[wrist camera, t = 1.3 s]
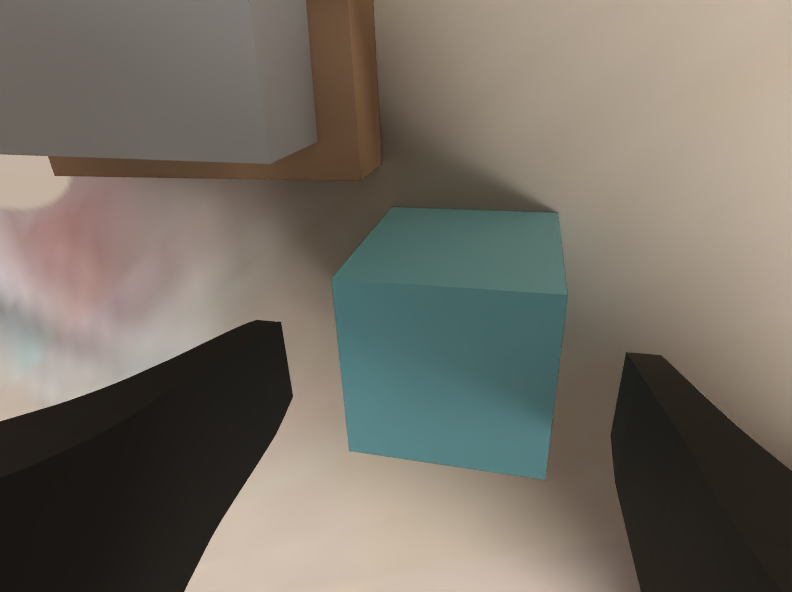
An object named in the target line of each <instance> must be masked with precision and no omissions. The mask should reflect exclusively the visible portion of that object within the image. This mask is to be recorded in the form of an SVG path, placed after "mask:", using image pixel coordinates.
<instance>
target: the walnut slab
mask: <svg viewBox="0 0 792 592" xmlns="http://www.w3.org/2000/svg"><path fill="white" fill-rule="evenodd" d="M306 7H307V19H308V31H309V43H310V55H311V67H312V79H313V91H314V103H315V115H316V127H317V140H318V142H316V143H314V144H312V145H310V146H307V147H305V148H303V149H301V150H299V151H297V152H294V153H292V154H290V155H288V156H286V157H284V158H281V159H279V160H277V161H275V162H273V163H271V164H257V163H229V162H202V161H174V160H146V159H119V158H91V157H63V156H48V157H49V160H50V163H51V166H52V169H53V172H54V175H55V176H96V177H158V178H220V179H282V180H345V181H361V180H362V179H364V178H365V177H366V176H367V175H369V174H370V173H371V172H372V171H373V170H375V169H376V168H377V167H378V166H380V165H381V164H382V154H381V136H380V117H379V99H378V80H377V62H376V43H375V25H374V6H373V0H306Z"/></svg>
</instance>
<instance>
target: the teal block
mask: <svg viewBox="0 0 792 592" xmlns="http://www.w3.org/2000/svg"><path fill="white" fill-rule="evenodd" d="M331 281H332V291H333V300H334V310H335V320H336V329H337V339H338V348H339V358H340V367H341V377H342V386H343V396H344V406H345V415H346V425H347V434H348V444H349V451H353V452H360V453H367V454H374V455H380V456H387V457H394V458H401V459H407V460H414V461H421V462H428V463H434V464H441V465H448V466H455V467H461V468H468V469H475V470H481V471H488V472H495V473H502V474H508V475H515V476H522V477H529V478H535V479H542V480H545V478H546V470H547V461H548V453H549V445H550V437H551V428H552V420H553V412H554V404H555V395H556V387H557V379H558V371H559V362H560V354H561V346H562V338H563V329H564V321H565V313H566V304H567V296H568V293H567V285H566V276H565V268H564V259H563V251H562V242H561V234H560V225H559V216H558V213H557V212H526V211H496V210H465V209H435V208H404V207H392V208H391V209H390V210H389V211H388V212H387V214H386V215H385V216H384V217H383V218H382V220H381V221H380V222H379V223H378V224H377V225H376V227H375V228H374V229H373V230H372V231H371V233H370V234H369V235H368V236H367V237H366V238H365V240H364V241H363V242H362V243H361V244H360V245H359V247H358V248H357V249H356V250H355V251H354V253H353V254H352V255H351V256H350V257H349V258H348V260H347V261H346V262H345V263H344V264H343V266H342V267H341V268H340V269H339V270H338V271H337V273H336V274H335V275H334V276H333V277H332V279H331Z"/></svg>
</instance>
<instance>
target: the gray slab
mask: <svg viewBox="0 0 792 592" xmlns="http://www.w3.org/2000/svg"><path fill="white" fill-rule="evenodd" d="M316 142H318V140H317V127H316V115H315V103H314V91H313V79H312V67H311V55H310V43H309V31H308V19H307V7H306V0H0V154H8V155H10V154H11V155H36V156H37V155H38V156H39V155H40V156H63V157H91V158H119V159H146V160H174V161H202V162H229V163H257V164H271V163H273V162H275V161H277V160H279V159H281V158H284V157H286V156H288V155H290V154H292V153H294V152H297V151H299V150H301V149H303V148H305V147H307V146H310V145H312V144H314V143H316Z"/></svg>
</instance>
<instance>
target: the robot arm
mask: <svg viewBox="0 0 792 592" xmlns="http://www.w3.org/2000/svg"><path fill="white" fill-rule="evenodd" d="M292 397H293V394H292V387H291V381H290V375H289V369H288V362H287V356H286V350H285V344H284V338H283V331H282V325H281V322H274V321H262V320H255V321H252V322H249V323H247V324H244V325H242V326H239V327H237V328H235V329H233V330H230V331H228V332H226V333H224V334H222V335H220V336H218V337H216V338H214V339H212V340H209V341H207V342H205V343H203V344H201V345H199V346H197V347H195V348H193V349H191V350H189V351H187V352H185V353H183V354H181V355H178V356H176V357H174V358H172V359H170V360H168V361H165V362H163V363H161V364H159V365H157V366H154V367H152V368H150V369H148V370H145V371H143V372H141V373H139V374H136V375H134V376H132V377H130V378H127V379H125V380H123V381H120V382H118V383H115V384H113V385H110V386H108V387H105V388H102V389H100V390H97V391H94V392H92V393H89V394H86V395H83V396H81V397H78V398H75V399H72V400H69V401H66V402H63V403H60V404H57V405H54V406H51V407H47V408H44V409H41V410H37V411H34V412H31V413H27V414H24V415H21V416H17V417H14V418H11V419H7V420H4V421H0V592H184V591H185V589H186V587H187V585H188V582H189V580H190V578H191V576H192V574H193V573H194V571H195V569H196V567H197V565H198V563H199V561H200V559H201V557H202V555H203V553H204V551H205V549H206V547H207V545H208V543H209V541H210V539H211V537H212V535H213V534H214V532H215V530H216V529H217V527H218V525H219V523H220V522H221V520H222V518H223V517H224V515H225V514H226V512H227V511H228V509H229V507H230V506H231V504H232V503H233V501H234V500H235V498H236V496H237V495H238V493H239V492H240V490H241V489H242V487H243V486H244V484H245V482H246V481H247V479H248V478H249V476H250V475H251V473H252V472H253V470H254V469H255V467H256V465H257V464H258V462H259V461H260V459H261V457H262V456H263V454H264V453H265V451H266V450H267V448H268V446H269V445H270V443H271V441H272V440H273V438H274V437H275V435H276V433H277V431H278V429H279V427H280V425H281V423H282V420H283V418H284V416H285V414H286V411H287V409H288V407H289V404H290V402H291V400H292ZM611 444H612V455H613V465H614V475H615V483H616V487H617V492H618V496H619V501H620V505H621V509H622V514H623V518H624V522H625V526H626V531H627V535H628V539H629V543H630V547H631V551H632V556H633V560H634V564H635V568H636V572H637V577H638V581H639V585H640V589H641V592H792V471H791V470H790V469H788V468H787V467H786V466H785V465H783V464H782V463H781V462H780V461H778V460H777V459H776V458H775V457H773V456H772V455H771V454H770V453H769V452H767V451H766V450H765V449H764V448H762V447H761V446H760V445H759V444H757V443H756V442H755V441H754V440H753V439H751V438H750V437H749V436H748V435H747V434H746V433H744V432H743V431H742V430H741V429H740V428H739V427H737V426H736V425H735V424H734V423H733V422H732V421H731V420H730V419H728V418H727V417H726V416H725V415H724V414H723V413H722V412H721V411H720V410H718V409H717V408H716V407H715V406H714V405H713V404H712V403H711V402H710V401H709V400H708V399H707V398H706V397H704V396H703V395H702V394H701V393H700V392H699V391H698V390H697V389H696V388H695V387H694V386H693V385H692V384H691V383H690V382H689V381H688V380H687V379H686V378H685V377H684V376H683V375H681V374H680V373H679V372H678V371H677V370H676V369H675V368H674V367H673V366H672V365H671V364H670V363H669V362H668V361H667V360H666V359H664V358H663V357H662V356H661V355H650V354H639V353H628V352H626V356H625V362H624V367H623V372H622V378H621V383H620V388H619V394H618V399H617V404H616V410H615V415H614V420H613V426H612V431H611Z"/></svg>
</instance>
